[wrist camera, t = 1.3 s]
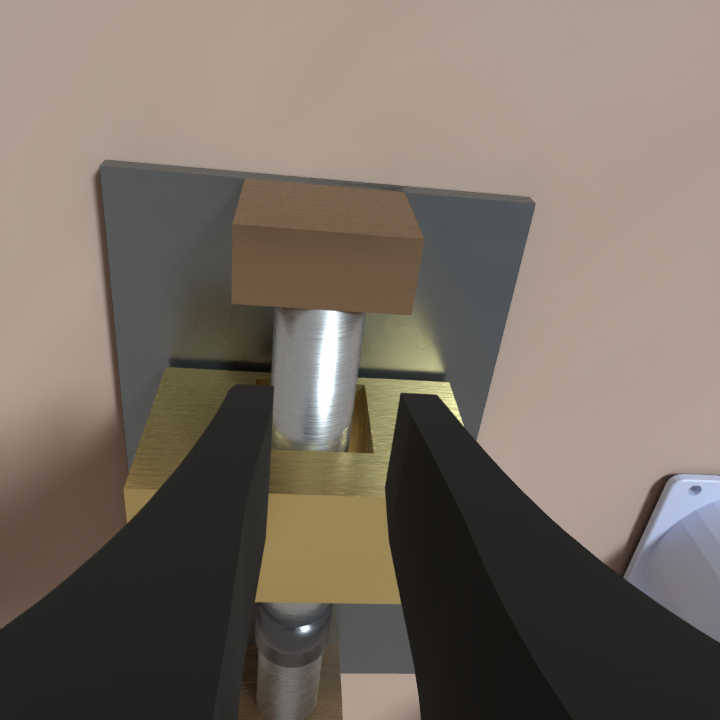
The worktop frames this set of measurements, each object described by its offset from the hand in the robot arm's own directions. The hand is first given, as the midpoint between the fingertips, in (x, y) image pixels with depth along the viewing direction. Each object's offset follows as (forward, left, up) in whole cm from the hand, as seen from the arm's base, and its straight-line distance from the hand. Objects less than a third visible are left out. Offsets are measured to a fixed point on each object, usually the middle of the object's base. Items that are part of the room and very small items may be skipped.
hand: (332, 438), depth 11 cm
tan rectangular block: (0, +6, -10) cm, 12 cm away
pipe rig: (0, +10, -10) cm, 14 cm away
